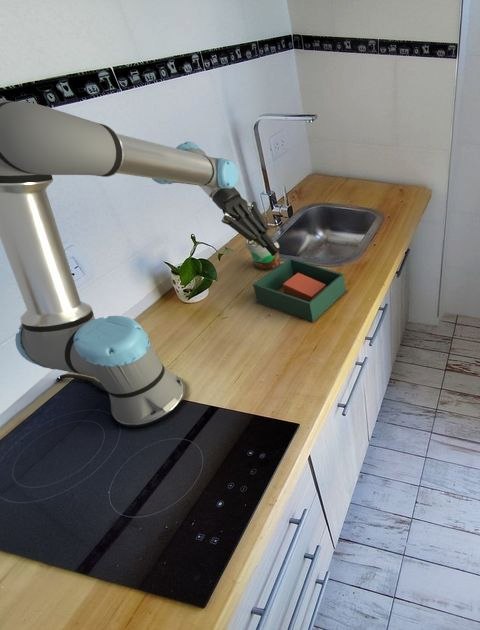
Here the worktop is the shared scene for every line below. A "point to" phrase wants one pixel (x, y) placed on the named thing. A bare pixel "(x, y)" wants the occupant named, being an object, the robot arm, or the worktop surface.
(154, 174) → the robot arm
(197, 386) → the worktop surface
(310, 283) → the carton
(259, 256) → the food container
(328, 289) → the bin
